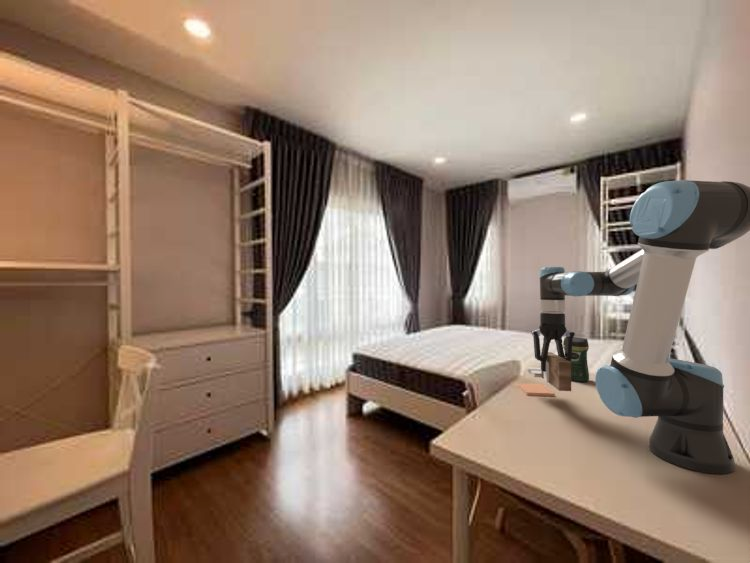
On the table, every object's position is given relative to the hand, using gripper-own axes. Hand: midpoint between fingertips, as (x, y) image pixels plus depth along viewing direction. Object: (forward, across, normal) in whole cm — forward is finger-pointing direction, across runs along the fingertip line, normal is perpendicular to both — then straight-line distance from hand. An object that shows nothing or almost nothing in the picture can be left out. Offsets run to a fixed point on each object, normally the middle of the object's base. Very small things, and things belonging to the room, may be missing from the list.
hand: (552, 381), depth 116 cm
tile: (+8, 0, -12) cm, 15 cm away
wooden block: (0, 0, -3) cm, 3 cm away
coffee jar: (+9, -23, -37) cm, 45 cm away
